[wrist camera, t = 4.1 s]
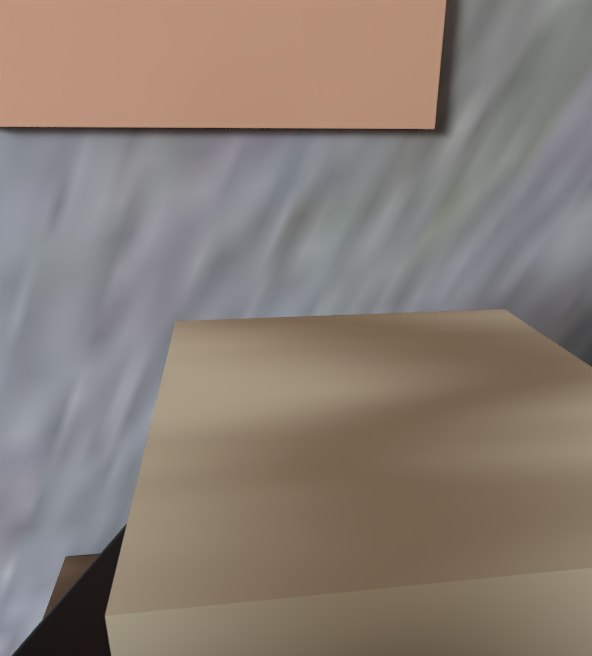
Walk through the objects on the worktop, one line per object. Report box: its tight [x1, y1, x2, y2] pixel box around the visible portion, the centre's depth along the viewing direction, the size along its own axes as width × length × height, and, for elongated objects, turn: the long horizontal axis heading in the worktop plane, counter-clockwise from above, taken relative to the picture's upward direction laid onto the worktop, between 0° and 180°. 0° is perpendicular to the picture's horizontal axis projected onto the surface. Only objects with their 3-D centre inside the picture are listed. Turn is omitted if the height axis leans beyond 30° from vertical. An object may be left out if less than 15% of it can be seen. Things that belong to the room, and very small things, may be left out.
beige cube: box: [105, 309, 592, 656], centre depth 7 cm, size 5×5×5 cm
